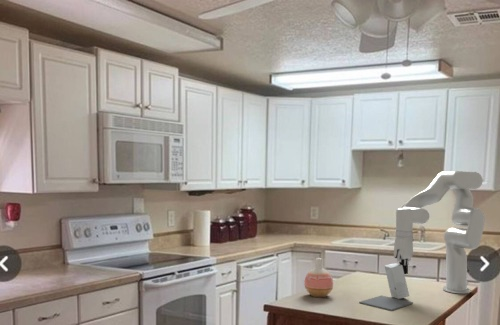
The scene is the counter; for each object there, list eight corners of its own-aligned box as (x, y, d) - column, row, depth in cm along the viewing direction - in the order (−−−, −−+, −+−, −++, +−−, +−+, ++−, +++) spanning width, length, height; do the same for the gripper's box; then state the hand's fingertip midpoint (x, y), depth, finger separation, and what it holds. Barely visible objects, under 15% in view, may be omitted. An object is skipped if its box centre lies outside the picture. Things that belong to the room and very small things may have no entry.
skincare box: (391, 296, 222) (383, 265, 224) (402, 293, 223) (394, 262, 225) (398, 299, 214) (390, 267, 215) (410, 296, 215) (402, 264, 216)
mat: (381, 296, 222) (381, 295, 222) (412, 303, 210) (412, 302, 210) (359, 303, 210) (359, 301, 210) (391, 310, 198) (391, 309, 198)
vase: (315, 291, 231) (315, 255, 232) (338, 296, 222) (339, 258, 222) (298, 295, 221) (298, 258, 222) (322, 301, 212) (322, 262, 212)
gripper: (405, 232, 229) (404, 270, 228) (388, 234, 219) (388, 274, 218) (419, 234, 224) (419, 273, 223) (403, 236, 213) (402, 276, 213)
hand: (403, 273), depth 221 cm, fingers closed
